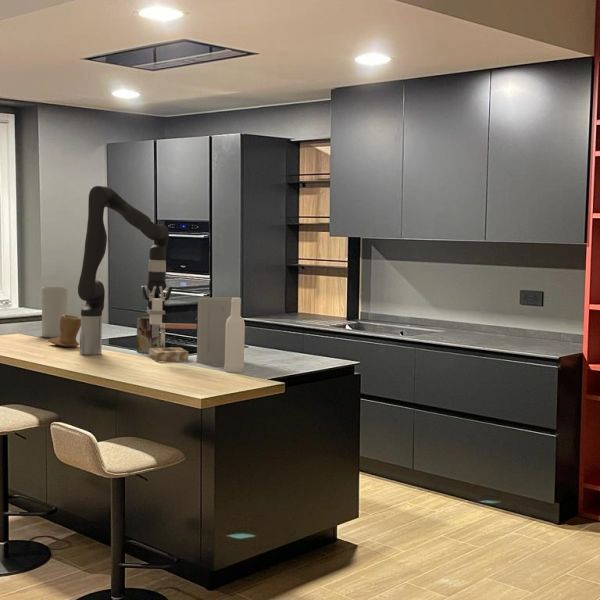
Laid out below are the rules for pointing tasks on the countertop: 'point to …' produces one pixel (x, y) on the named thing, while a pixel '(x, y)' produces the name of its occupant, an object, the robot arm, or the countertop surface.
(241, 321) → the bottle
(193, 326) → the bar
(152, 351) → the socket block
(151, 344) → the coffee box
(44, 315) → the cylinder vase
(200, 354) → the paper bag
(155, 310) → the plug
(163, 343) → the clip post
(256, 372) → the countertop surface
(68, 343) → the brown boot-shaped piece
